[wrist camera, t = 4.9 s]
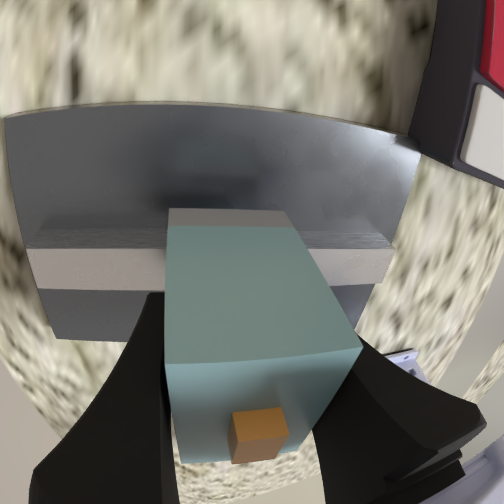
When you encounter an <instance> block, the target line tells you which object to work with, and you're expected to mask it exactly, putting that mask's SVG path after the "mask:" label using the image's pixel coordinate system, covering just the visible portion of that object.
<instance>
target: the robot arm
mask: <svg viewBox="0 0 504 504" xmlns="http://www.w3.org/2000/svg"><path fill="white" fill-rule="evenodd" d="M164 315H165V292H150V293H149V294H148V295H147V297H146V301H145V304H144V306H143V309H142V312H141V314H140V317H139V319H138V321H137V324H136V326H135V328H134V330H133V332H132V334H131V336H130V338H129V341H128V343H127V345H126V347H125V348H124V350H123V352H122V354H121V356H120V358H119V359H118V361H117V363H116V365H115V367H114V368H113V370H112V372H111V374H110V375H109V377H108V378H107V380H106V382H105V383H104V385H103V386H102V388H101V389H100V391H99V392H98V394H97V395H96V397H95V398H94V400H93V401H92V402H91V404H90V405H89V407H88V408H87V409H86V411H85V412H84V413H83V415H82V416H81V417H80V419H79V420H78V421H77V422H76V423H75V425H74V426H73V427H72V428H71V429H70V431H69V432H68V433H67V434H66V435H65V437H64V438H63V439H62V440H61V441H60V443H59V444H58V445H57V446H56V447H55V448H54V449H53V450H52V451H51V452H50V453H49V454H48V455H47V456H46V457H45V458H44V459H43V460H42V461H41V462H40V463H39V464H38V465H37V466H36V467H35V469H34V470H33V474H32V478H31V483H30V488H29V504H180V502H179V496H178V489H177V482H176V474H175V466H174V457H173V447H172V437H171V404H170V398H169V391H168V384H167V377H166V370H165V346H164ZM357 336H358V338H359V339H360V341H361V343H362V345H363V348H362V350H361V352H360V354H359V356H358V357H357V359H356V361H355V362H354V364H353V366H352V368H351V369H350V371H349V373H348V374H347V376H346V378H345V379H344V381H343V383H342V384H341V386H340V387H339V389H338V391H337V392H336V394H335V395H334V397H333V398H332V400H331V402H330V403H329V405H328V406H327V408H326V409H325V411H324V412H323V414H322V415H321V417H320V418H319V420H318V421H317V423H316V424H315V425H314V427H313V428H312V432H313V436H314V440H315V444H316V449H317V454H318V458H319V463H320V469H321V474H322V480H323V487H324V494H325V502H326V504H504V435H502V436H501V437H500V438H498V439H497V440H496V441H495V442H493V443H492V444H491V445H489V446H488V447H487V448H485V450H483V451H482V452H480V453H479V454H477V455H476V456H475V457H473V458H472V459H470V460H469V461H467V462H466V463H464V464H463V465H461V464H460V462H459V460H458V459H460V458H461V457H462V453H461V451H460V448H461V447H463V446H464V445H465V444H466V443H468V442H469V441H470V440H472V439H473V438H474V437H475V436H477V435H478V434H479V433H480V432H481V431H482V430H483V429H484V428H485V427H486V425H487V422H486V421H485V419H484V417H483V415H482V414H481V412H480V410H479V408H478V407H477V405H476V404H474V403H472V402H469V401H466V400H464V399H461V398H458V397H456V396H453V395H450V394H448V393H446V392H444V391H442V390H439V389H437V388H435V387H433V386H431V384H430V383H429V381H428V379H427V378H426V376H425V374H424V373H423V371H422V369H421V368H420V366H419V365H418V363H417V361H416V360H415V358H416V357H417V355H418V351H417V349H414V350H409V351H405V352H401V353H397V354H392V355H388V356H383V355H382V354H381V353H379V352H378V351H377V350H375V349H374V348H373V347H372V346H371V345H369V344H368V343H367V342H366V341H364V340H363V339H362V338H361V337H360V336H359V335H357Z"/></svg>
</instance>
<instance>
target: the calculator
mask: <svg viewBox="0 0 504 504" xmlns="http://www.w3.org/2000/svg"><path fill="white" fill-rule="evenodd" d="M408 135H409V136H411V137H413V138H415V139H417V140H419V141H421V142H420V151H421V153H422V154H424V155H426V156H428V157H430V158H432V159H434V160H436V161H439V162H441V163H443V164H445V165H447V166H449V167H451V168H453V169H455V170H458V171H461V172H463V173H466V174H469V175H471V176H474V177H476V178H479V179H481V180H484V181H486V182H489V183H491V184H493V185H496V186H498V187H500V188H503V189H504V0H438V6H437V15H436V24H435V31H434V39H433V45H432V51H431V57H430V62H429V64H428V66H427V67H426V69H425V71H424V75H423V79H422V83H421V87H420V91H419V95H418V99H417V103H416V107H415V111H414V115H413V118H412V122H411V125H410V129H409V132H408Z"/></svg>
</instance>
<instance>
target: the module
mask: <svg viewBox="0 0 504 504" xmlns="http://www.w3.org/2000/svg"><path fill="white" fill-rule="evenodd" d="M164 346H165V370H166V377H167V384H168V391H169V398H170V404H171V411H172V417H173V423H174V428H175V434H176V439H177V444H178V450H179V455H180V459H181V464H183V463H204V462H218V461H229V460H231V463H232V464H240V463H248V462H256V461H263V460H269V459H275V458H276V456H277V454H281V453H286V452H292V451H296V450H297V449H298V448H299V446H300V445H301V444H302V442H303V441H304V440H305V438H306V437H307V435H308V434H309V433H310V431H311V430H312V428H313V427H314V425H315V424H316V423H317V421H318V420H319V418H320V417H321V415H322V414H323V412H324V411H325V409H326V408H327V406H328V405H329V403H330V402H331V400H332V398H333V397H334V395H335V394H336V392H337V391H338V389H339V387H340V386H341V384H342V383H343V381H344V379H345V378H346V376H347V374H348V373H349V371H350V369H351V368H352V366H353V364H354V362H355V361H356V359H357V357H358V356H359V354H360V352H361V350H362V348H363V345H362V343H361V341H360V339H359V338H358V336H357V334H356V332H355V330H354V329H353V327H352V325H351V323H350V321H349V320H348V318H347V316H346V314H345V313H344V311H343V309H342V307H341V305H340V304H339V302H338V300H337V298H336V297H335V295H334V293H333V292H332V290H331V288H330V286H329V285H328V283H327V281H326V279H325V278H324V276H323V274H322V273H321V271H320V269H319V268H318V266H317V264H316V263H315V261H314V259H313V257H312V256H311V254H310V252H309V251H308V249H307V247H306V246H305V244H304V243H303V241H302V239H301V238H300V236H299V234H298V233H297V231H296V229H295V228H294V226H293V225H292V223H291V221H290V220H289V218H288V216H287V215H286V213H285V212H284V211H271V210H242V209H197V208H169V218H168V233H167V250H166V273H165V315H164Z"/></svg>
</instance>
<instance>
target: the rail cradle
mask: <svg viewBox="0 0 504 504" xmlns="http://www.w3.org/2000/svg"><path fill="white" fill-rule="evenodd" d="M4 121H5V136H6V147H7V156H8V165H9V172H10V179H11V185H12V191H13V197H14V202H15V207H16V212H17V217H18V222H19V226H20V230H21V234H22V238H23V242H24V246H25V250H26V254H27V257H28V261H29V264H30V267H31V271H32V274H33V277H34V280H35V283H36V286H37V289H38V292H39V295H40V298H41V301H42V304H43V306H44V309H45V312H46V314H47V317H48V320H49V322H50V325H51V327H52V330H53V332H54V334H55V337H56V339H68V340H86V341H112V342H128V341H129V338H130V336H131V334H132V332H133V330H134V328H135V326H136V324H137V321H138V319H139V317H140V314H141V312H142V309H143V306H144V304H145V301H146V297H147V295H148V294H149V293H150V292H165V273H166V250H167V233H168V218H169V208H197V209H242V210H271V211H284V212H285V213H286V215H287V216H288V218H289V220H290V221H291V223H292V225H293V226H294V228H295V229H296V231H297V233H298V234H299V236H300V238H301V239H302V241H303V243H304V244H305V246H306V247H307V249H308V251H309V252H310V254H311V256H312V257H313V259H314V261H315V263H316V264H317V266H318V268H319V269H320V271H321V273H322V274H323V276H324V278H325V279H326V281H327V283H328V285H329V286H330V288H331V290H332V292H333V293H334V295H335V297H336V298H337V300H338V302H339V304H340V305H341V307H342V309H343V311H344V313H345V314H346V316H347V318H348V320H349V321H350V323H351V325H352V327H353V329H355V327H356V325H357V323H358V321H359V318H360V316H361V314H362V312H363V310H364V308H365V305H366V303H367V301H368V299H369V297H370V294H371V292H372V290H373V287H374V285H375V283H382V281H383V279H384V277H385V274H386V272H387V270H388V267H389V265H390V262H391V260H392V257H393V255H394V253H395V250H396V249H395V248H394V247H393V246H392V245H391V243H392V241H393V238H394V235H395V232H396V230H397V227H398V224H399V221H400V219H401V216H402V213H403V210H404V207H405V204H406V201H407V198H408V195H409V192H410V189H411V186H412V183H413V179H414V176H415V173H416V170H417V166H418V163H419V159H420V156H421V151H420V142H421V141H419V140H417V139H415V138H413V137H411V136H409V135H405V134H401V133H398V132H394V131H390V130H386V129H382V128H378V127H374V126H369V125H365V124H360V123H356V122H351V121H346V120H341V119H336V118H331V117H325V116H320V115H314V114H308V113H301V112H295V111H288V110H280V109H273V108H264V107H255V106H245V105H233V104H220V103H203V102H173V101H142V102H112V103H96V104H83V105H72V106H63V107H54V108H47V109H39V110H33V111H26V112H20V113H15V114H13V115H10V116H8V117H6V118H4Z"/></svg>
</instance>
